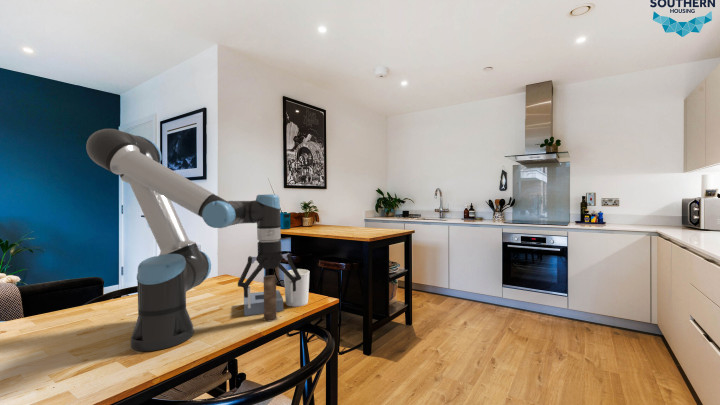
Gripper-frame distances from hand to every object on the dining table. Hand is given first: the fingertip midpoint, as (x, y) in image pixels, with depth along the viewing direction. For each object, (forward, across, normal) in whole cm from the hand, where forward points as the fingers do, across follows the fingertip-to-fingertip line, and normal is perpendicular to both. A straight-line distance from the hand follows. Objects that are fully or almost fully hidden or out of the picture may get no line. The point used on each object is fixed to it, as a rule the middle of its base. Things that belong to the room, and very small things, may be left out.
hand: (270, 304), depth 104 cm
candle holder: (+5, +11, +12) cm, 17 cm away
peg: (+5, 0, 0) cm, 5 cm away
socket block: (+5, -2, +12) cm, 13 cm away
